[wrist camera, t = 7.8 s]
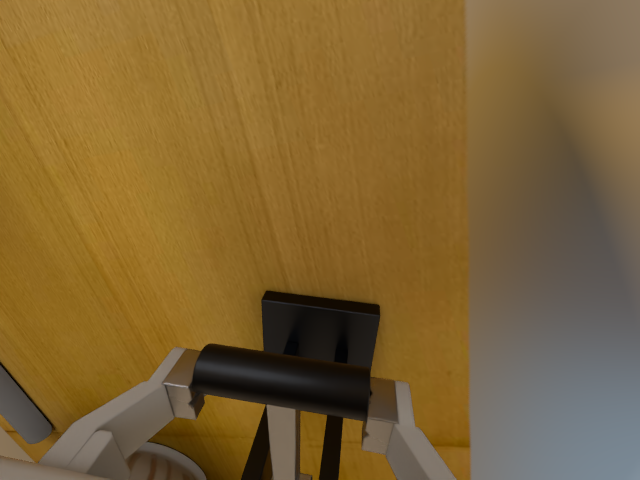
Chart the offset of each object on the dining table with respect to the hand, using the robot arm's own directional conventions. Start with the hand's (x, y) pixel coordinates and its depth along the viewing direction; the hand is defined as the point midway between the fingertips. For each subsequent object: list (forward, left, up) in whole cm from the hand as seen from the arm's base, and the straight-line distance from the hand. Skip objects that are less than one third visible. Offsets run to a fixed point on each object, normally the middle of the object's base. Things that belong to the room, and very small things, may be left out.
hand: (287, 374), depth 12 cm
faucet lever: (+5, +2, -1) cm, 5 cm away
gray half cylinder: (+33, -28, -11) cm, 45 cm away
